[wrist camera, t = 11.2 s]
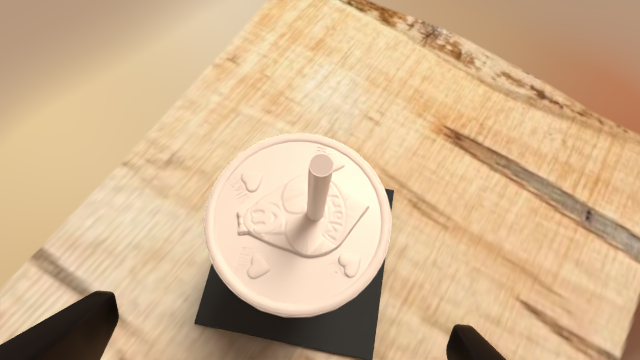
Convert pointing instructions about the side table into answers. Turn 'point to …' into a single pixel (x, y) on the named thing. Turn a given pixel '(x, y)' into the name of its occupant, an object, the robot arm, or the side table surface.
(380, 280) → the coaster
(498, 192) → the side table surface
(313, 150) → the smoothie
